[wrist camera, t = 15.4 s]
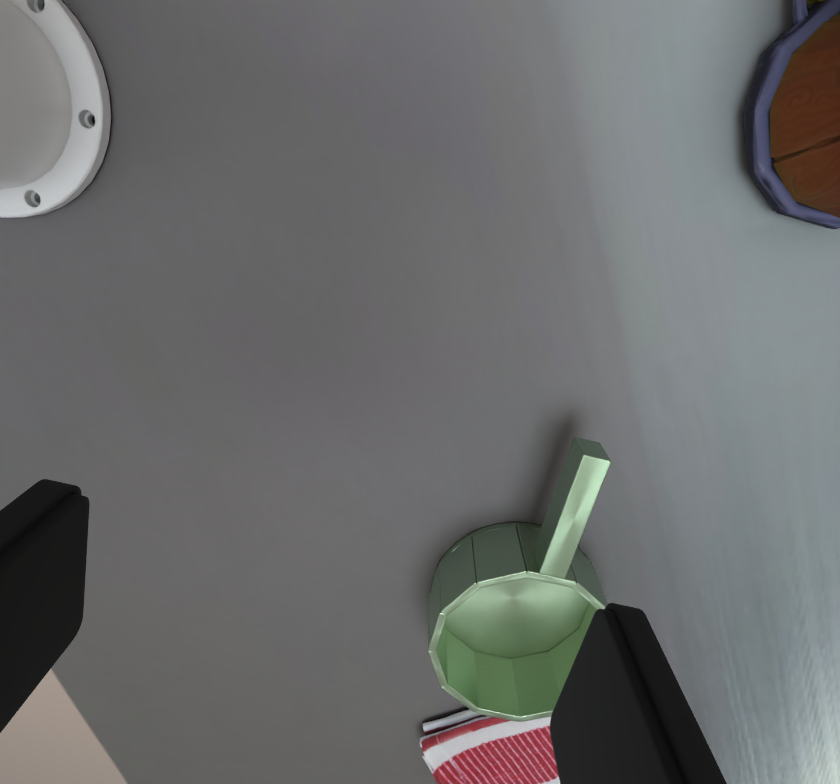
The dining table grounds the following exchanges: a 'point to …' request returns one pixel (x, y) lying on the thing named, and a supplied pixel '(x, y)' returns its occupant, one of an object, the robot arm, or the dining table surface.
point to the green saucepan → (519, 601)
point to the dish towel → (489, 750)
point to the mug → (799, 117)
